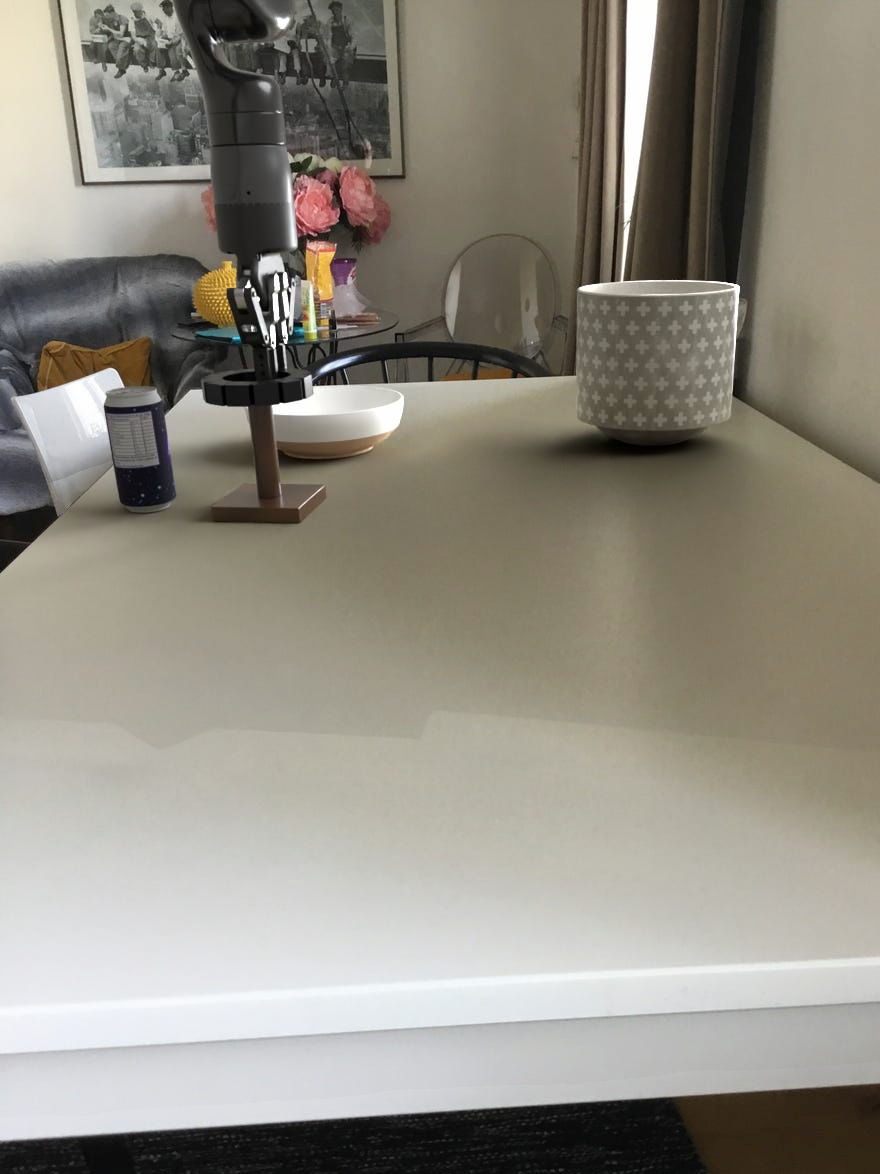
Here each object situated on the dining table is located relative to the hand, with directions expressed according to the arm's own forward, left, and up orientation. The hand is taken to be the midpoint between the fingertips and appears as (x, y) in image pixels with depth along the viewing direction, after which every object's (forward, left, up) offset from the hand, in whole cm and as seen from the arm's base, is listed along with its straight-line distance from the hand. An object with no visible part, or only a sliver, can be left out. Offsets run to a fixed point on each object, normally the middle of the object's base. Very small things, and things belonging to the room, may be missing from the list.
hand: (272, 383), depth 107 cm
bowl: (-2, +23, -12) cm, 26 cm away
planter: (+38, +30, -12) cm, 50 cm away
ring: (0, -4, -1) cm, 4 cm away
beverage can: (-13, -4, -12) cm, 18 cm away
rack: (0, -4, -12) cm, 13 cm away
